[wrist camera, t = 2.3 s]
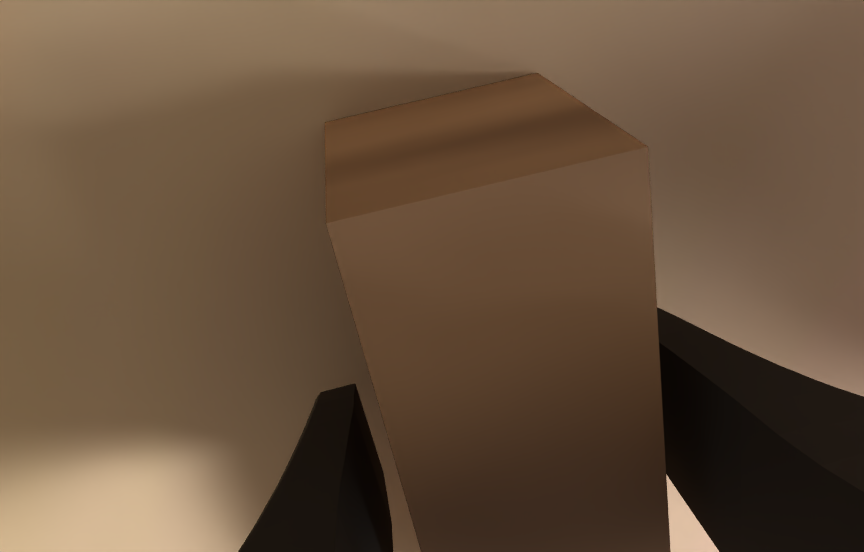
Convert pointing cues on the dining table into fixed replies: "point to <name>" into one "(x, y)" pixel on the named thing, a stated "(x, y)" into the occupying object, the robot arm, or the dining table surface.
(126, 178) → the dining table surface
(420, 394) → the brown rectangular block
